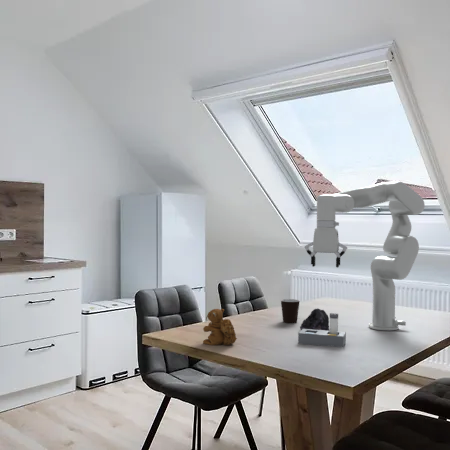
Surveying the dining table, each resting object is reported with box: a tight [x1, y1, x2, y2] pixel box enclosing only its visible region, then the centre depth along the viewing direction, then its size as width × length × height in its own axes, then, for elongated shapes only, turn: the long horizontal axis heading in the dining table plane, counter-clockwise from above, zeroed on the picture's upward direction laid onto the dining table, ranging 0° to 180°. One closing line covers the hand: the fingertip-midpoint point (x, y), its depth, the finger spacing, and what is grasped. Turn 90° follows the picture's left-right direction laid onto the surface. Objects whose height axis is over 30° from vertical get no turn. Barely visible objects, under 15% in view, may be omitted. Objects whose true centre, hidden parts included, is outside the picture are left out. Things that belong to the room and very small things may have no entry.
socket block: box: [297, 329, 347, 348], centre depth 212 cm, size 17×8×4 cm, turn 71°
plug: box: [329, 312, 339, 335], centre depth 210 cm, size 3×3×11 cm
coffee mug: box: [280, 298, 300, 324], centre depth 254 cm, size 12×9×10 cm
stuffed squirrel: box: [202, 308, 238, 346], centre depth 210 cm, size 10×14×13 cm
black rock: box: [299, 308, 330, 331], centre depth 234 cm, size 13×14×10 cm
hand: (325, 266), depth 225 cm, fingers open, 9 cm apart
